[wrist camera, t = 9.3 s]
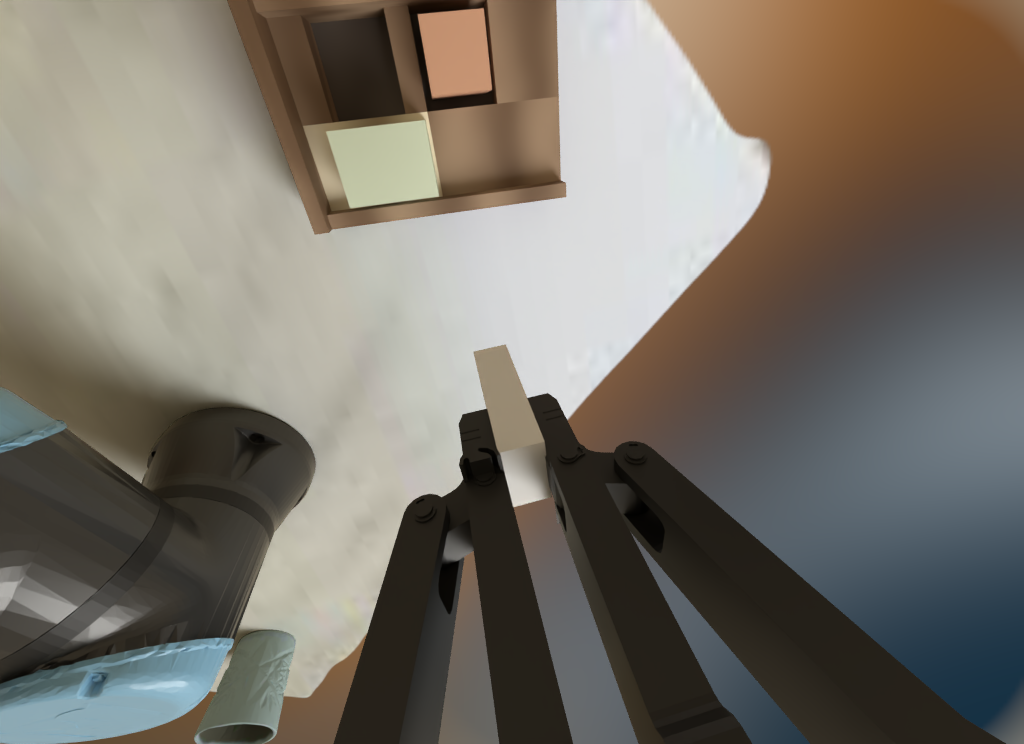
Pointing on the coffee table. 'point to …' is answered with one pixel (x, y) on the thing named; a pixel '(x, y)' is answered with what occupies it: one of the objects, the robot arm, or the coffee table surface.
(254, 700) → the grey-blue cup
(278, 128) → the wooden tray
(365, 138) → the sage block
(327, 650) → the coffee table surface
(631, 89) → the coffee table surface
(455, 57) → the rust block
